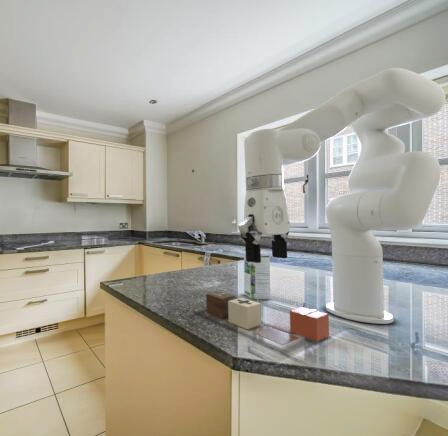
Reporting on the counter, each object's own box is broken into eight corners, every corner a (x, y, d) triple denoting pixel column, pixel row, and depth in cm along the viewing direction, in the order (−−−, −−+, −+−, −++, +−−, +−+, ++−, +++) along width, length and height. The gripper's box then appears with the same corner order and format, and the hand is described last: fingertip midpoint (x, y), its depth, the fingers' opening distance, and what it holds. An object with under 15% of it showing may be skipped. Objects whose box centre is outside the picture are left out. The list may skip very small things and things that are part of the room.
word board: (220, 307, 70) (220, 306, 70) (308, 340, 51) (308, 337, 51) (196, 313, 66) (196, 311, 66) (283, 351, 46) (283, 349, 46)
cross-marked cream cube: (241, 317, 62) (241, 297, 62) (261, 324, 57) (260, 302, 57) (228, 321, 59) (228, 300, 59) (247, 329, 55) (247, 306, 55)
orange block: (303, 328, 56) (302, 306, 56) (329, 337, 52) (329, 313, 52) (289, 333, 54) (288, 310, 54) (316, 343, 49) (315, 318, 49)
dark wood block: (219, 309, 68) (219, 290, 68) (235, 315, 63) (235, 295, 63) (206, 312, 65) (206, 293, 65) (222, 318, 61) (221, 298, 61)
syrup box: (243, 294, 83) (242, 251, 83) (261, 294, 82) (260, 251, 83) (252, 299, 77) (251, 253, 77) (271, 299, 77) (270, 253, 77)
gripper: (255, 181, 49) (258, 266, 49) (303, 184, 57) (305, 258, 57) (224, 186, 56) (227, 261, 56) (270, 188, 64) (273, 254, 64)
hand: (266, 259), depth 57 cm, fingers open, 9 cm apart
